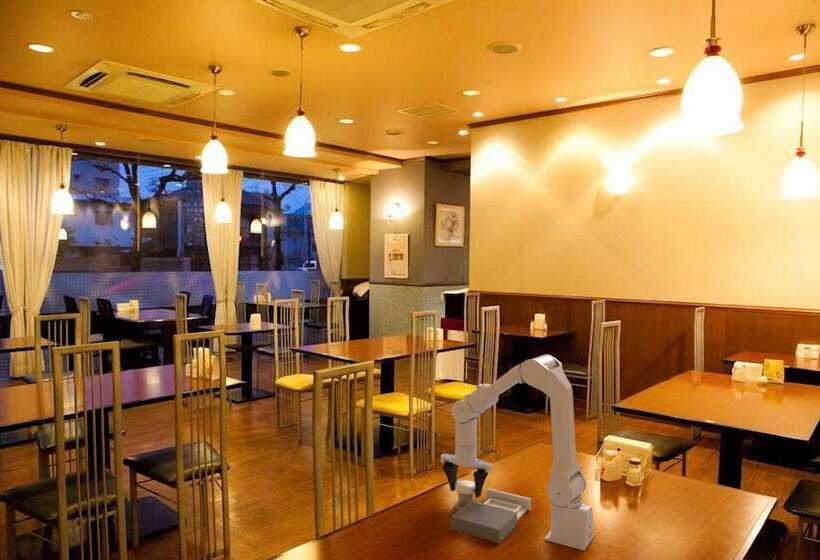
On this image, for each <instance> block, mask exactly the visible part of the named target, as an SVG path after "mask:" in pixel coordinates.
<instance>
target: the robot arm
mask: <svg viewBox="0 0 820 560" xmlns="http://www.w3.org/2000/svg"><path fill="white" fill-rule="evenodd" d="M562 364H563V363H562V362H560V361H559V360H558V359H557V358H556V357H553V356H552V355H550V354H542V355H540V356H537V357H534V358H531V359H529V358H528V359H526V360H524V361H523V362H522V363H519V364H517V365H515V366H514V367H512V368H511V369H510V370H508V371H507V372H506V373H505V374H503V375H501V377H499V378H498V379H496V380H495V381H494V382H493V383H492V384H489V383H480V384H478V385H476V386H475V387H476V389H475V390H473V391H472V392H471V393H466V394H465V395H464V396H463V397H464V398H463V399H461V400H456V401H454V403H453V404H452V406H451V409H450V413H451V416H452V418H453V419H454V421H455V426H454V427H455V429H454V431H455V432H454V433H455V437H454V439H455V440H454V443H455V446H454V447H455V450H454V451H455V452H454V454H449V453H443V454H441V455H440V463H441V464H443V465H442V471H443V472H444V474H445V476H446V478H447V481H448V484H449V488H450V492H454V491H455V483H456V482H458V479H457V477H458V475H457V474H458V469H459V467H460V466H461V467H464V468H469V469H473V470H475V471H474V472H473V479H474V483H475V493H474V497H475V498H479V497H480V496H482V491H483V487H484V483H485V481H486V480H487V478H488V475H489V474H490V473H491V472H492V471H493V463H492V462H488V461H484V460H482V459H479V458H478V457H477V446H478V445H477V443H478V442H477V439H478V437H477V434H478V433H477V431H478V430H477V428H478V427H477V424H478V419H479V417H480V415H481V414H482V413H483V412H485V411H486V410H488V409H489V408H491V407H492V406H494V405H495V404H497V403H498V402H499V395H500V394H503V393H504V392H506V391H507V390H509V389H511V388H512V387H513V386H515V385H516V384H524V383H525V384H527V385H529V386H531V387H532V388H535V389H537V390H539V391H541V392H543V393H544V394H545V395H546V396H548V398H549V401H550V403H549V405H550V420H551V421H550V422H551V425H550V426H551V439H552V441H551V442H552V456H553V457H552V458H553V463H552V465H551V469H550V472H549V481H548V484H547V486H546V494H547V496H548V499H549V500H550V531H549V532H548V534H547V535H546V536H545V537H544V540H545V541H547V542H550V543H554V544H558V545H562V546H566V547H569V548H573V549H577V550H581V551H586V549H587V547H588V546H589V544H590V543H591V541H592V540H593V538H594V535H593V531H594V525H593V523H594V522H593V521H594V520H593V519H594V514H593V512H594V511H593V508H592V507H591V506H589V505H586V504H585V503H583V499H582V494H583V493H584V492H585V490H586V487H587V482H586V481H587V480H586V478H585V477H584V474H583V471H582V466H581V464H580V463H579V462H577V452H576V450H577V449H576V431H575V429H576V427H575V411H574V394H573V392H574V391H573V387H572V385H571V383H570V381H569V379H568V378H567V375H566V374H565V372H564V370H563V365H562Z"/></svg>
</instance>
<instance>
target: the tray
mask: <svg viewBox="0 0 820 560" xmlns="http://www.w3.org/2000/svg"><path fill="white" fill-rule="evenodd" d="M485 493H486V494H485V496H486V499H485V501H484V503H482V504H486V505H490V506H494V507H498V508H502V509H506V510H510V511H514V512H517V521H518V520H519V519H520V518H522V517H523V515H524V514H525V513H526V512H527V510H529V511H528V512H530V511H531V510H532V507H531V506H532V504H531V502H532V498H530V497H526V496H521V495H518V494H514V493H510V492H505V491H501V490H497V489H492V488H488V487H487V488H486V492H485Z"/></svg>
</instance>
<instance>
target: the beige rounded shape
mask: <svg viewBox="0 0 820 560" xmlns="http://www.w3.org/2000/svg"><path fill="white" fill-rule="evenodd" d="M454 491H455V492H456V493H457V494H458V493H460V494H473V495H474V494H475V481H472V480H465V479H464V480H462V479H461V480H457V482H456V483H455V490H454Z"/></svg>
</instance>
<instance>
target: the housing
mask: <svg viewBox="0 0 820 560" xmlns="http://www.w3.org/2000/svg"><path fill="white" fill-rule="evenodd" d="M516 525H517V526H518V520H517V512H514V511H510V510H506V509H502V508H498V507H494V506H490V505H486V504H483V503H482V502H478V501H474V500H473V501H470V502H469V503H467V504H466V505H465V506H464V507H462V508H461V509H460V510H457V511H456V512H455V513H454V514H453V515H451V517H450V530H451V531H454V532H458V533H461V532H462V534H465V535H469V536H472V537H476V538H479V539H483V540H486V541H489V542H493V543H496V544H499V545H500V544H501V543H502V542H503V541H504V540H505V539H506V537H508V535H510V533H511V532H512V531H513V530H514V529H515V528H516V527H517V526H516ZM515 526H516V527H515Z"/></svg>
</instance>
